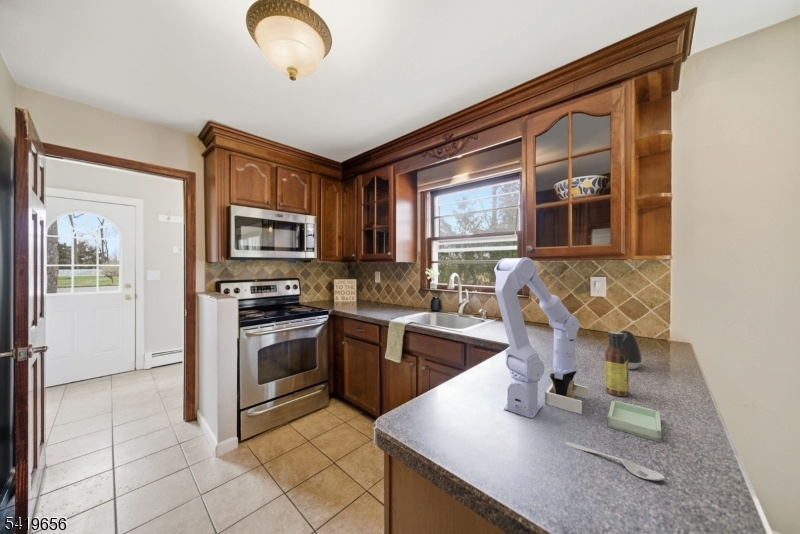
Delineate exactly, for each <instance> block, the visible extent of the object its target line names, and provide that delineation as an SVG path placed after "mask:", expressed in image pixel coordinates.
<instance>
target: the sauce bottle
mask: <svg viewBox="0 0 800 534" xmlns="http://www.w3.org/2000/svg"><path fill="white" fill-rule="evenodd" d="M620 332H621V331H608V347H607V348H606V349H605V351H604V352H605V353H604V356H605V357H604V387H605V391H606V393H608V394H610V395H613V396H616V397H627V396H628V395H629V390H630V389H629V386H630V385H629V380H630V379H629V378H630V377H629V369H628V357H627V354H626V352H625V349H624V347H623V338H624V334H623V333H620Z"/></svg>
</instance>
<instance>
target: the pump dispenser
mask: <svg viewBox="0 0 800 534" xmlns="http://www.w3.org/2000/svg"><path fill="white" fill-rule="evenodd" d="M619 332H620V333H623V334H624V338H623V347H624V349H625V352H626V354H627V357H628V370H630V369H631V370H635V369H637V368H639V366H640V365H641V363H642V361H643V360H642V354H641V353H642V352H641V349H640V345H639V342H638V340H637V338H636V337H635V335H634V333H632V332H631V331H629V330H620V331H619Z"/></svg>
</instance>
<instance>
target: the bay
mask: <svg viewBox="0 0 800 534" xmlns="http://www.w3.org/2000/svg"><path fill="white" fill-rule="evenodd" d="M574 385H577V388H576V390H574V397H579V398H583V399H586V400H589V397H590V395H589V392H590V391H589V388H590V387H589V386H587V385H586V386H585V385H581V384H577V383H574ZM544 404H545V405H547V406H551V407H556V408H559V409H561V410H565V411H568V412H572V413H576V414H579V415H582V414H583V401H582V400H580V399H577V398H574V399H573V398H569V397H565V396H561V395H558V394H554V393H553V382H552V383H551V384H550V385H549V386H548V387H547V389H546V391H545V392H544Z"/></svg>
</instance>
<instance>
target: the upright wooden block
mask: <svg viewBox="0 0 800 534" xmlns="http://www.w3.org/2000/svg"><path fill="white" fill-rule="evenodd" d="M574 384H575V380H574V379H573V380H571V381H570V383H569V386H568V389H567V395H566V397H569V398H573V399H575V396H574V390H576V388H577V385H574ZM553 393H554V394H556V391H555V386H554V384H553Z"/></svg>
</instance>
